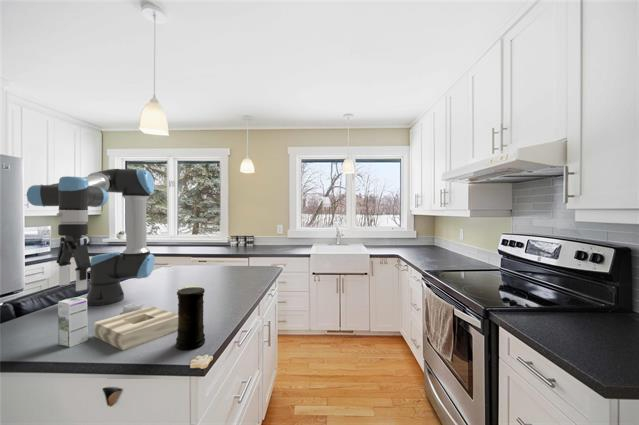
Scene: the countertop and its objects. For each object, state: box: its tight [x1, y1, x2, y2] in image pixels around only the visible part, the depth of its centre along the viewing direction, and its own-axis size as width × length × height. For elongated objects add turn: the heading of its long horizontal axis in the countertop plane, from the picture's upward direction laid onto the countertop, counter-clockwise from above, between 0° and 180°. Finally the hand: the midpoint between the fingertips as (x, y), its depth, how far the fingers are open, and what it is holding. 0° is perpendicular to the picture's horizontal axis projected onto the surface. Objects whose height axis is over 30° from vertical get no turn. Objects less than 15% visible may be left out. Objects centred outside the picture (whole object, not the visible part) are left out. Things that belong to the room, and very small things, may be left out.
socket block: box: [93, 306, 178, 351], centre depth 105 cm, size 20×20×5 cm
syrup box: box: [57, 296, 88, 348], centre depth 97 cm, size 6×6×14 cm
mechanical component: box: [119, 302, 145, 315], centre depth 123 cm, size 10×4×10 cm
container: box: [175, 287, 206, 351], centre depth 96 cm, size 9×9×18 cm
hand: (72, 287), depth 96 cm, fingers open, 13 cm apart
